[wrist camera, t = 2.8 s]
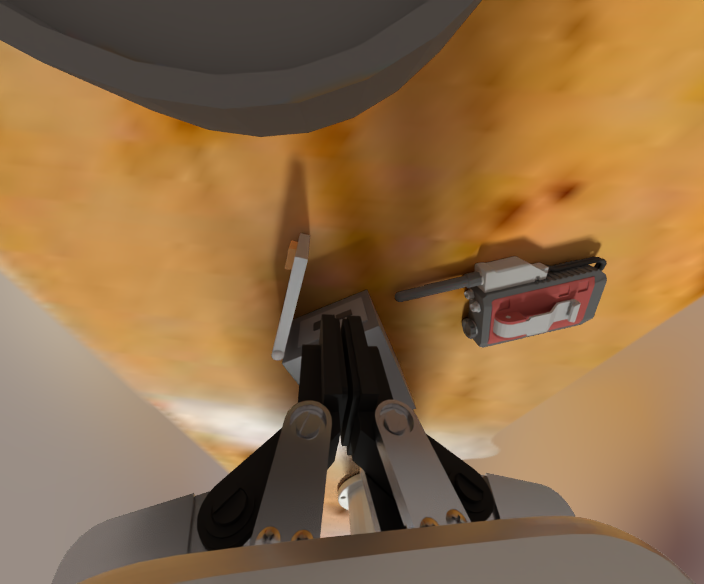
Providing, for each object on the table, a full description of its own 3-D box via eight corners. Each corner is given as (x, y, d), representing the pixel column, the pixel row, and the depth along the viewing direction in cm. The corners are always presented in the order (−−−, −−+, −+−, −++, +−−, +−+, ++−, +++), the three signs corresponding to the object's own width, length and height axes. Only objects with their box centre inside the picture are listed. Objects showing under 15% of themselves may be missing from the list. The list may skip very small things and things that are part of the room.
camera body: (399, 365, 29) (418, 414, 24) (322, 394, 30) (323, 447, 24) (366, 287, 23) (380, 328, 18) (272, 326, 24) (259, 375, 19)
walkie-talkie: (597, 232, 24) (389, 280, 24) (651, 248, 20) (403, 306, 20) (574, 308, 28) (399, 348, 28) (614, 333, 24) (411, 380, 24)
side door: (310, 235, 20) (308, 260, 16) (289, 321, 24) (282, 361, 19) (293, 230, 20) (286, 255, 15) (274, 318, 24) (264, 358, 19)
